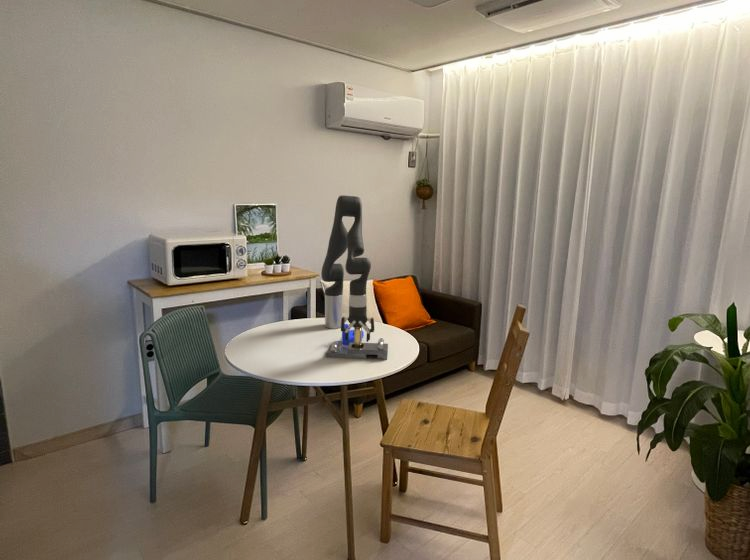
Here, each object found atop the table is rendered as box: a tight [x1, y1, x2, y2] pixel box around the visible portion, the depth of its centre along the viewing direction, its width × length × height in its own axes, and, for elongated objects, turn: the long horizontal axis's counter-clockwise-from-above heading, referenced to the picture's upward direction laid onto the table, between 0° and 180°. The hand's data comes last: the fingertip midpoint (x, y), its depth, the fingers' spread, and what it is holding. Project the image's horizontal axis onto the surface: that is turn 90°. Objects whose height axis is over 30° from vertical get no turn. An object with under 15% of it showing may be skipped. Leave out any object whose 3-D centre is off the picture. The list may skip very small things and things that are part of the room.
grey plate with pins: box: [325, 338, 389, 360], centre depth 191 cm, size 9×26×6 cm, turn 86°
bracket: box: [341, 323, 364, 346], centre depth 212 cm, size 18×8×9 cm, turn 175°
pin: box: [353, 327, 362, 348], centre depth 190 cm, size 3×3×12 cm
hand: (357, 340), depth 190 cm, fingers open, 8 cm apart
